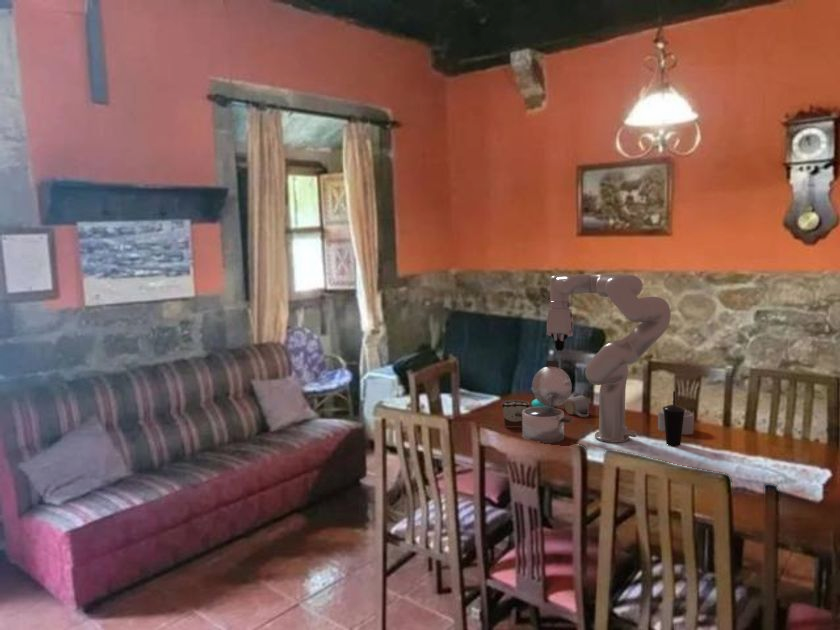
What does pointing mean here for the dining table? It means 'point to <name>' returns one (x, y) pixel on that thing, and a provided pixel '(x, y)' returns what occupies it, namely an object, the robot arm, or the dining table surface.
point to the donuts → (537, 403)
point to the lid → (551, 385)
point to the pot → (543, 424)
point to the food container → (513, 412)
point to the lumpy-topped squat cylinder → (687, 422)
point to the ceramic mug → (577, 406)
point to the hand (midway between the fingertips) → (559, 350)
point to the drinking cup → (673, 423)
